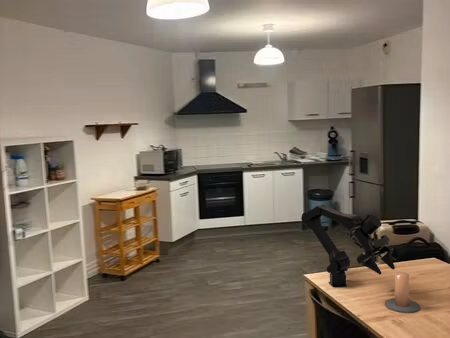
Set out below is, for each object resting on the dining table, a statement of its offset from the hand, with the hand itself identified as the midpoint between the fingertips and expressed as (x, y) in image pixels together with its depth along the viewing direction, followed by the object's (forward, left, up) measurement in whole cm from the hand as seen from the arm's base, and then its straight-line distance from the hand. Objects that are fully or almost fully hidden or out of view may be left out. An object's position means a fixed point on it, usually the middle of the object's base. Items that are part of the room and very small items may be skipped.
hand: (387, 271), depth 185 cm
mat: (+3, -6, -13) cm, 14 cm away
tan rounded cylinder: (+3, -6, -12) cm, 14 cm away
